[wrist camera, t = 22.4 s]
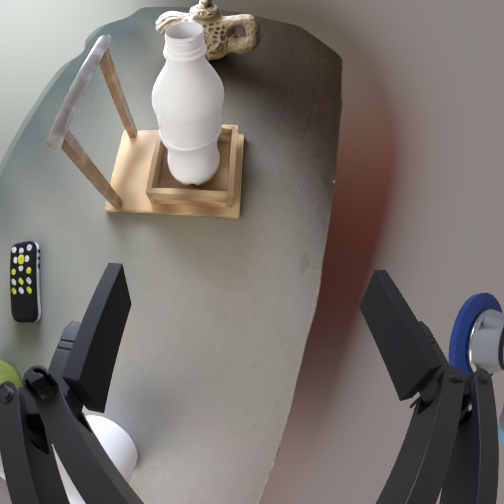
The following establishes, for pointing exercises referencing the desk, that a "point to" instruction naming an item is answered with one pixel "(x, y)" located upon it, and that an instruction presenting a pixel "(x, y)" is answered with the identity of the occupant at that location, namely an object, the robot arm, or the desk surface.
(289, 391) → the desk surface
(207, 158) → the water bottle
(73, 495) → the cup
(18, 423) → the robot arm
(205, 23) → the teapot
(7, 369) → the flower pot
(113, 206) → the rack
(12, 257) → the remote control
